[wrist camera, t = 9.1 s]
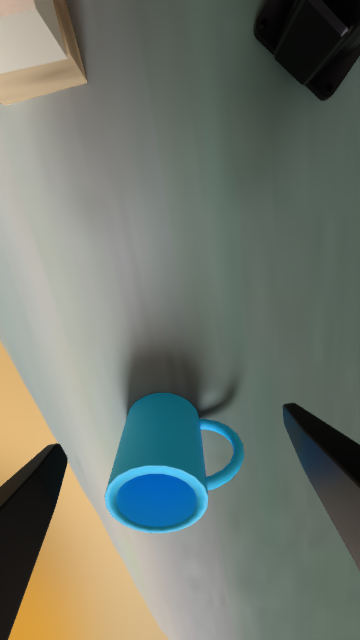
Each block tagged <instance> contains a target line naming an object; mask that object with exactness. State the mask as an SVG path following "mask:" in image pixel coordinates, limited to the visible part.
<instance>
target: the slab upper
mask: <svg viewBox="0 0 360 640" xmlns="http://www.w3.org/2000/svg"><path fill="white" fill-rule="evenodd" d="M64 59H68V58H67V55H66V51H65V47H64V43H63V39H62V35H61V31H60V27H59V23H58V19H57V15H56V11H55V7H54V3H53V0H0V74H2V73H6V72H10V71H15V70H19V69H24V68H28V67H33V66H37V65H41V64H46V63H50V62H55V61H59V60H64Z"/></svg>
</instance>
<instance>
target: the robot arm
mask: <svg viewBox="0 0 360 640" xmlns="http://www.w3.org/2000/svg"><path fill="white" fill-rule="evenodd" d="M260 24H264V25H265V27H266V29H265V30H262V29H261V28H260ZM254 35H255V37H256V39H257V40H258V41H259V42H260V43H262V44H263V45H264V46H265V47H266V48H267V49H268V50H269V51H270V52H271V53H272V54H273V55H274V57H275V60H277V61H278V62H279V63H280V64H281V65H282V66H283V67H284V68H285V69H286V70H287V71H288V72H289V73H290V74H291V75H292V76H293V77H294V78H295V79H296V80H297V81H298V82H300V83H301V84H302V85H305V86H306V87H307V88H308V89H309V90H310V91H312V92H313V93H314V94H315V95H316V96H317V97H318V98H319V99H320V100H322V101H325V100H327V99H329V98H330V97H331V96H332V95H333V94H334V92H335V91H336V90H337V88H338V87H339V85H340V84H341V82H342V81H343V79H344V78H345V76H346V75H347V73H348V72H349V71H350V69H351V68H352V66H353V65H354V63H355V62H356V60H357V59H358V57H359V56H360V0H267V2H266V4H265V5H264V7H263V9H262V11H261V13H260V15H259V16H258V18H257V21H256V24H255V27H254ZM325 86H327V87H328V88H329V92H328V93H327V92H326V91H325ZM283 418H284V424H285V427H286V430H287V432H288V434H289V437H290V439H291V441H292V444H293V446H294V448H295V451H296V453H297V455H298V457H299V460H300V462H301V464H302V467H303V469H304V471H305V473H306V475H307V476H308V478H309V480H310V482H311V484H312V485H313V487H314V489H315V491H316V493H317V495H318V496H319V498H320V500H321V502H322V504H323V505H324V507H325V509H326V511H327V513H328V514H329V516H330V518H331V520H332V522H333V523H334V525H335V527H336V529H337V531H338V532H339V534H340V536H341V538H342V540H343V541H344V543H345V545H346V547H347V549H348V550H349V552H350V554H351V556H352V558H353V559H354V561H355V563H356V565H357V567H358V569H359V570H360V445H359V444H358V443H356V442H355V441H353V440H352V439H350V438H349V437H347V436H345V435H344V434H342V433H341V432H339V431H338V430H336V429H335V428H333V427H331V426H330V425H328V424H327V423H325V422H324V421H322V420H321V419H319V418H317V417H316V416H314V415H313V414H311V413H310V412H308V411H307V410H305V409H303V408H302V407H300V406H299V405H297V404H296V403H288V404H284V405H283ZM66 466H67V456H66V454H65V452H64V450H63V449H62V447H61V445H60V444H58V443H56V444H51V445H48V446H46V447H45V448H44V449H43V450H42V451H41V452H40V453H38V454H37V455H36V456H35V457H34V458H33V459H32V460H30V461H29V462H28V463H27V464H26V465H25V466H24V467H22V468H21V469H20V470H19V471H18V472H17V473H16V474H14V475H13V476H12V477H11V478H10V479H9V480H7V481H6V482H5V483H4V484H3V485H2V486H1V487H0V640H8V638H9V635H10V633H11V629H12V627H13V624H14V621H15V619H16V616H17V613H18V610H19V607H20V605H21V602H22V599H23V596H24V593H25V591H26V588H27V585H28V582H29V580H30V577H31V574H32V571H33V568H34V566H35V563H36V560H37V557H38V554H39V551H40V549H41V546H42V543H43V540H44V538H45V535H46V532H47V529H48V527H49V524H50V521H51V518H52V515H53V513H54V509H55V507H56V503H57V500H58V496H59V492H60V488H61V485H62V481H63V478H64V474H65V470H66Z"/></svg>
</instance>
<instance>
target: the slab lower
mask: <svg viewBox="0 0 360 640" xmlns="http://www.w3.org/2000/svg"><path fill="white" fill-rule="evenodd" d="M53 3H54V7H55V11H56V15H57V19H58V23H59V27H60V31H61V35H62V39H63V43H64V47H65V51H66V55H67V58H68V59H64V60H59V61H55V62H50V63H46V64H41V65H37V66H33V67H28V68H24V69H19V70H15V71H10V72H6V73H2V74H0V103H2V104H3V105H9V104H12V103H16V102H20V101H23V100H27V99H31V98H34V97H38V96H41V95H45V94H49V93H52V92H56V91H60V90H63V89H67V88H71V87H74V86H78V85H82V84H85V83H88V82H87V79H86V75H85V71H84V68H83V64H82V60H81V56H80V53H79V49H78V45H77V41H76V38H75V34H74V30H73V26H72V23H71V19H70V15H69V11H68V8H67V4H66V0H53Z"/></svg>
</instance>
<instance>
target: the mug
mask: <svg viewBox="0 0 360 640" xmlns="http://www.w3.org/2000/svg"><path fill="white" fill-rule="evenodd" d="M201 429H206V430H211V431H215V432H218V433H220V434H222V435H224V436H225V437H226V438H227V439H228V440H229V441H230V442H231V444H232V446H233V457H232V459H231V461H230V463H229V464H228V465H227V466H226V467H225V468H224V469H223V470H221V471H219V472H217V473H215V474H213V475H212V476H208V477H206V473H205V464H204V455H203V447H202V438H201ZM243 459H244V450H243V444H242V442H241V440H240V438H239V436H238V435H237V433H235V432H234V431H233V430H232V429H231V428H230V427H228V426H226V425H224V424H222V423H220V422H217V421H213V420H208V419H199V416H198V413H197V410H196V409H195V408H194V406H193V405H192V404H191V403H190V402H189V401H187V400H186V399H184V398H183V397H181V396H178V395H174V394H171V393H154V394H150V395H146V396H144V397H143V398H141V399H139V400H138V401H136V402H135V403H134V405H133V406H132V407H131V408H130V410H129V413H128V416H127V419H126V422H125V426H124V430H123V433H122V437H121V440H120V444H119V447H118V451H117V454H116V458H115V461H114V465H113V468H112V472H111V475H110V479H109V482H108V486H107V490H106V493H105V502H106V507H107V509H108V510H109V512H110V514H111V515H112V517H114V518H115V519H116V520H117V521H119V522H120V523H121V524H123V525H125V526H127V527H129V528H132V529H134V530H138V531H142V532H147V533H168V532H173V531H178V530H181V529H183V528H186V527H188V526H190V525H192V524H194V523H195V522H196V521H197V520H199V519H200V518H201V517H202V515H203V514H204V512H205V510H206V509H207V504H208V491H207V490H212V489H215V488H217V487H219V486H221V485H223V484H225V483H226V482H228V481H230V480H231V479H232V477H233V476H234V475H235V474H236V473H237V472H238V471H239V469H240V467H241V464H242V462H243Z"/></svg>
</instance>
